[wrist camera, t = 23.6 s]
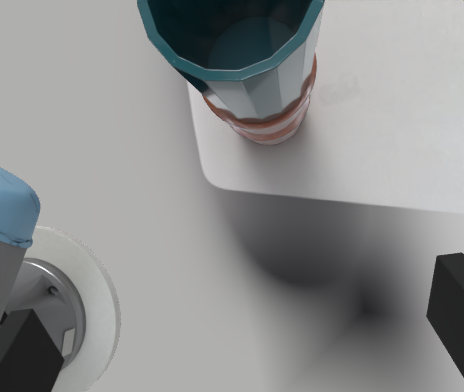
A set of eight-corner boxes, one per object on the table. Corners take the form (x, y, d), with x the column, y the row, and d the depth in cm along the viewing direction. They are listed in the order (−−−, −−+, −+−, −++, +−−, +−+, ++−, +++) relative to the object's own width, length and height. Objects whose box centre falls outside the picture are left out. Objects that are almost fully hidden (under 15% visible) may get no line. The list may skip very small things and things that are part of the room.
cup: (200, 120, 25) (132, 78, 15) (206, 14, 25) (142, -112, 14) (306, 125, 24) (317, 83, 13) (314, 13, 24) (334, -124, 13)
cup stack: (230, 145, 41) (193, 126, 25) (235, 73, 41) (200, 6, 25) (303, 149, 40) (311, 131, 24) (309, 74, 40) (321, 6, 24)
